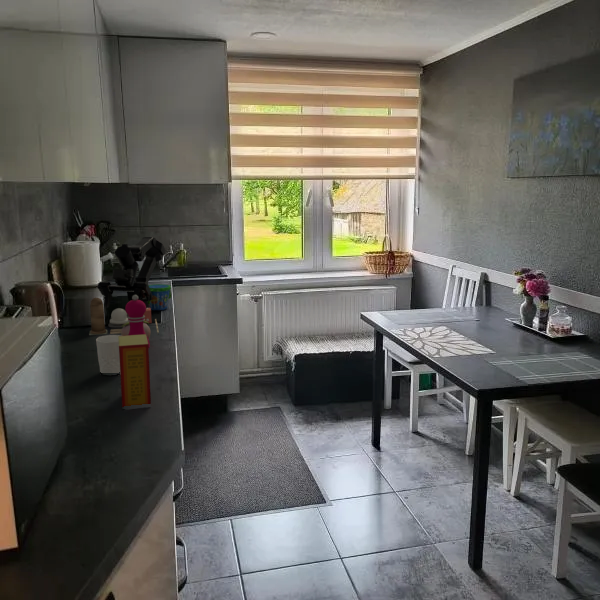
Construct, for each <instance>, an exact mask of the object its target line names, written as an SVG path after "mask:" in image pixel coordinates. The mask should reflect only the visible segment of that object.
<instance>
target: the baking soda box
mask: <svg viewBox="0 0 600 600" xmlns="http://www.w3.org/2000/svg"><path fill="white" fill-rule="evenodd" d="M118 338H119V358H120V375H119V376H120V391H121V408H122V407H124V406H131V405H142V404H151V405H152V401H151V400H152V399H151V398H152V397H151V377H150V375H151V374H150V372H151V371H150V353H149V352H150V351H149V349H150V347H149V348H148V341H147V336H146V334H140V335H126V336H118Z"/></svg>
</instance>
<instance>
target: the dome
mask: <svg viewBox="0 0 600 600" xmlns="http://www.w3.org/2000/svg"><path fill="white" fill-rule="evenodd" d="M110 316H111V317H110V318H109V323H111V324H125V323H127V322H129V321H128V314H127V313H126V310H125V309H124V308H120V307H118V308H115V309H113V310H112V312H111V314H110Z"/></svg>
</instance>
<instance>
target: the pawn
mask: <svg viewBox="0 0 600 600" xmlns="http://www.w3.org/2000/svg"><path fill="white" fill-rule="evenodd" d="M104 306H105V305H104V303H103V300H102V299H101V298H100V297H93V298H92V299H91V300H90V304H89V307H90V308H89V309H90V310H89V311H90V324H91V325H90V327H91V329H90V331H91V334H99V335H104V334H103V333H106V330H107V329H106V324H105V312H104V311H105V307H104Z"/></svg>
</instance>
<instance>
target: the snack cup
mask: <svg viewBox="0 0 600 600" xmlns="http://www.w3.org/2000/svg"><path fill="white" fill-rule="evenodd" d="M148 285H149V288H150V290H151V292H152V300H150V301H148V308H151V311H165V310H167V309H168V306H169V302H170V301H169V300H171V298H172V291H171V289H172V286H171V285H169V284H162V283H161V284H148Z"/></svg>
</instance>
